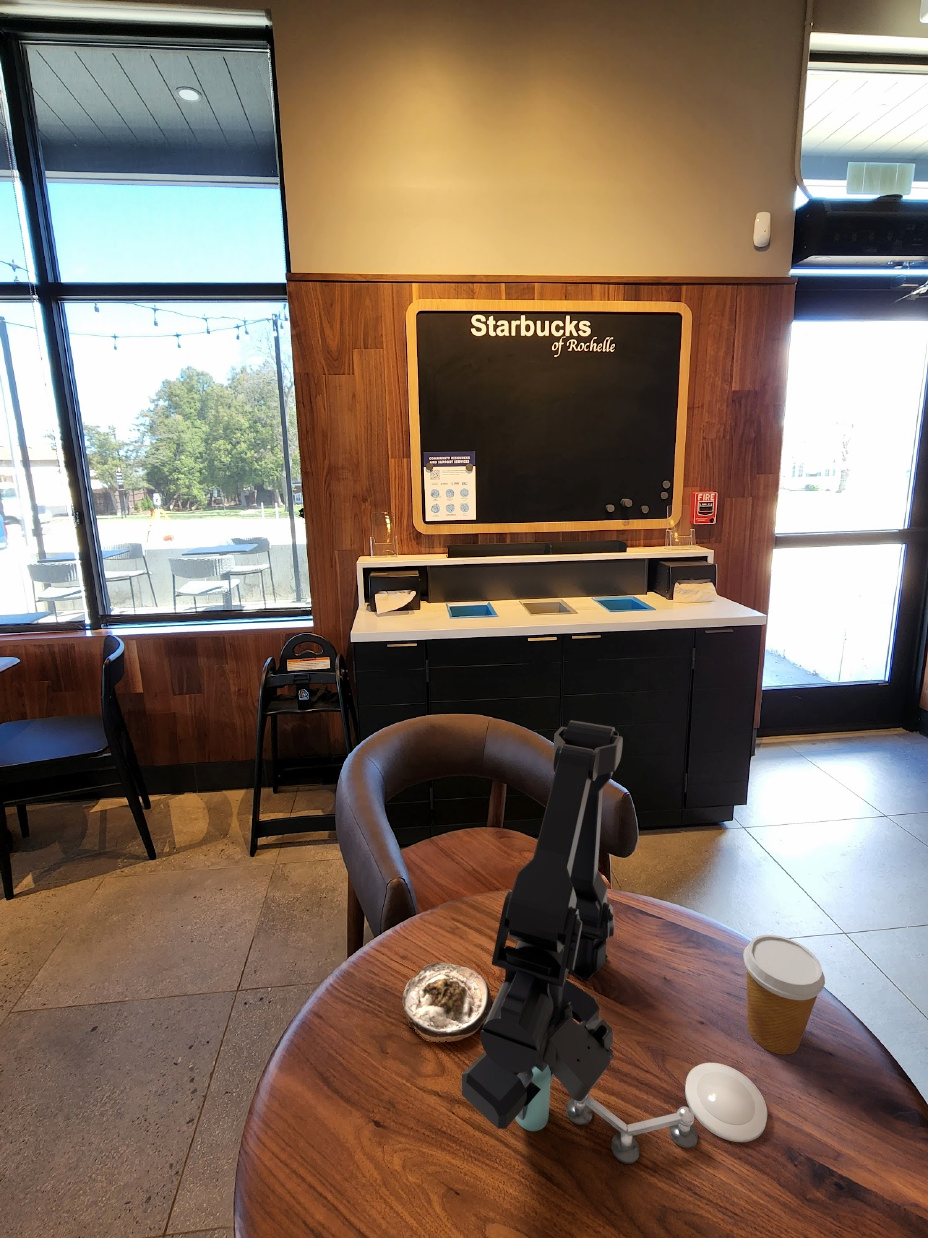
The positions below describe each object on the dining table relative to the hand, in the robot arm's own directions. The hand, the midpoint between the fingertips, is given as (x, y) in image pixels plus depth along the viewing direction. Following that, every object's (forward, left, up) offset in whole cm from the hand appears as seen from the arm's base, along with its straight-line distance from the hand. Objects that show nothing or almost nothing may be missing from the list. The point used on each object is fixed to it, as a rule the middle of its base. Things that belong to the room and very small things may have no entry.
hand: (531, 1103), depth 73 cm
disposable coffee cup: (+17, +31, -2) cm, 35 cm away
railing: (+9, +7, -2) cm, 12 cm away
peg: (0, 0, -2) cm, 2 cm away
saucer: (+16, +17, -2) cm, 23 cm away
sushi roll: (-18, +4, -2) cm, 19 cm away
